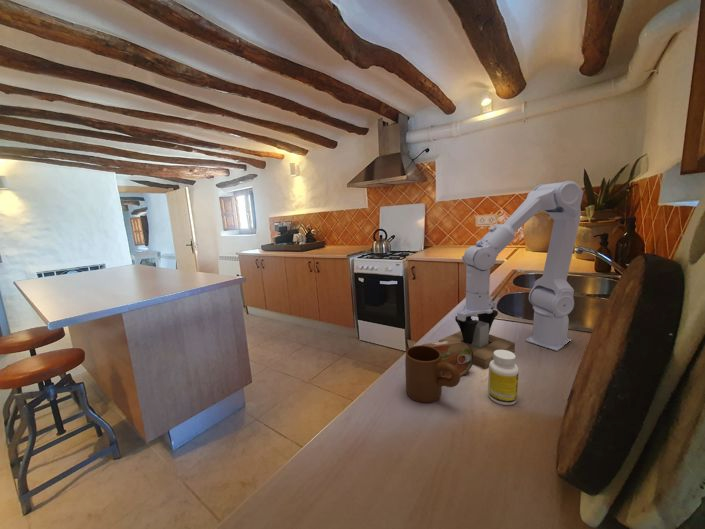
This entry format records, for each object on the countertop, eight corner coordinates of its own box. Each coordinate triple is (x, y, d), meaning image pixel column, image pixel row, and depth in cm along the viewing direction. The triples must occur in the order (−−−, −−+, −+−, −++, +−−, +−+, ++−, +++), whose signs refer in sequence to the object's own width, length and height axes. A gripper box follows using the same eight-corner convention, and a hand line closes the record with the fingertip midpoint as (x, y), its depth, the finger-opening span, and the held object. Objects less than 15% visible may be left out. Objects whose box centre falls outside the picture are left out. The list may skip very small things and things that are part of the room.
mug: (468, 400, 60) (469, 359, 58) (449, 420, 55) (450, 374, 53) (418, 378, 68) (418, 341, 67) (398, 393, 63) (397, 353, 62)
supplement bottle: (520, 407, 57) (523, 361, 55) (491, 404, 58) (493, 360, 56) (511, 390, 62) (514, 348, 60) (484, 388, 63) (486, 347, 62)
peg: (474, 346, 82) (475, 319, 81) (488, 351, 79) (489, 323, 78) (466, 350, 80) (466, 323, 79) (479, 355, 77) (480, 327, 76)
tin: (414, 383, 67) (413, 350, 65) (409, 376, 70) (408, 343, 68) (474, 374, 69) (475, 341, 67) (467, 367, 72) (467, 336, 70)
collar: (468, 334, 90) (468, 327, 89) (514, 351, 78) (515, 342, 78) (438, 348, 82) (438, 340, 82) (485, 369, 71) (485, 360, 70)
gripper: (475, 300, 70) (473, 352, 72) (506, 288, 78) (504, 335, 80) (450, 294, 75) (450, 342, 78) (482, 283, 83) (481, 328, 86)
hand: (476, 338), depth 79 cm, fingers open, 7 cm apart
